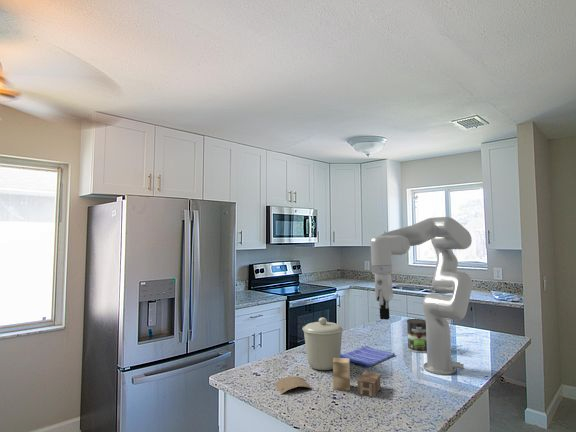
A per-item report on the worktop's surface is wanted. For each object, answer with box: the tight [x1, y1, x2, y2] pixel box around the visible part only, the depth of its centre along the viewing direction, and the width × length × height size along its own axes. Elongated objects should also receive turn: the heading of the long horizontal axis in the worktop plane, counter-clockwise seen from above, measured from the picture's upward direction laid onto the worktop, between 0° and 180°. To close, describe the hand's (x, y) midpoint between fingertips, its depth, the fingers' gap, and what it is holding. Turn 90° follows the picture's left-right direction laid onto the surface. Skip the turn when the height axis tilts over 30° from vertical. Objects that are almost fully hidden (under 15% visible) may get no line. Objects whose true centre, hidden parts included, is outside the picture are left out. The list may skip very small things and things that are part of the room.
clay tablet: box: [273, 375, 313, 395], centre depth 137 cm, size 14×10×3 cm
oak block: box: [332, 358, 351, 392], centre depth 136 cm, size 6×5×10 cm
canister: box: [302, 317, 345, 371], centre depth 159 cm, size 18×18×21 cm
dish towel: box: [340, 345, 396, 369], centre depth 169 cm, size 17×24×3 cm
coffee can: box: [406, 318, 427, 354], centre depth 180 cm, size 10×10×14 cm
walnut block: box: [357, 370, 381, 398], centre depth 133 cm, size 6×5×10 cm
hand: (384, 318), depth 135 cm, fingers closed
